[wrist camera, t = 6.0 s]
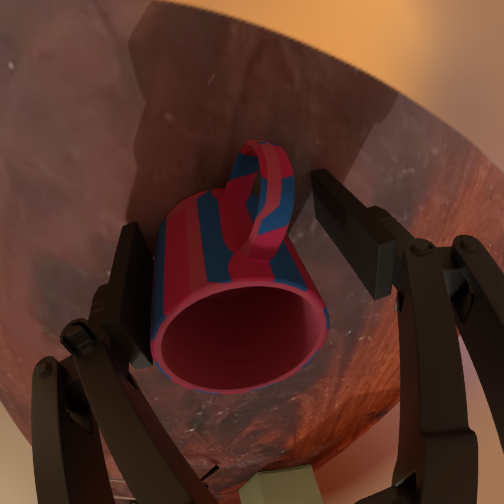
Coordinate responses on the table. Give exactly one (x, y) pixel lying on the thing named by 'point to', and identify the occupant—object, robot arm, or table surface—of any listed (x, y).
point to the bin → (282, 487)
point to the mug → (235, 283)
